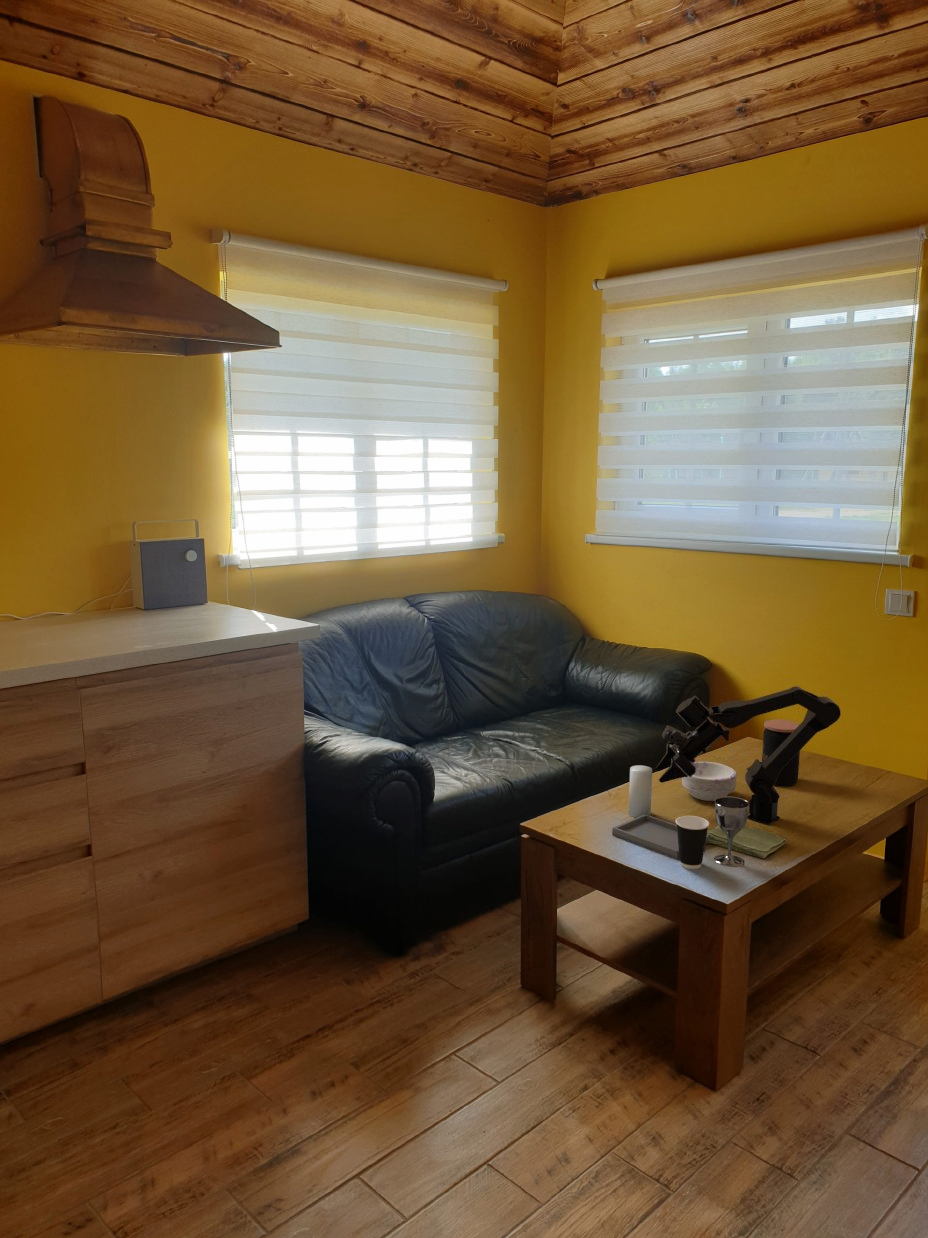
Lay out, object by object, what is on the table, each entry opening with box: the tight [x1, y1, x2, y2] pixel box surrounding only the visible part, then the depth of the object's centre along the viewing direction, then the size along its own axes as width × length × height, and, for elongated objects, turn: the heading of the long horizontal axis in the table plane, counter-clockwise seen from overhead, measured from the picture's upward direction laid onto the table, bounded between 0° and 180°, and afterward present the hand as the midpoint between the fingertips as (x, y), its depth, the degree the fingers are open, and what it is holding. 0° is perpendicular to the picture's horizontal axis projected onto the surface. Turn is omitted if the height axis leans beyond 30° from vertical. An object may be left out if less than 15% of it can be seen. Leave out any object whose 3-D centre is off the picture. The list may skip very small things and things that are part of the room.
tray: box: [611, 814, 710, 860], centre depth 238 cm, size 20×14×2 cm
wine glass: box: [713, 795, 750, 868], centre depth 225 cm, size 8×8×15 cm
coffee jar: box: [761, 719, 801, 788], centre depth 279 cm, size 11×11×18 cm
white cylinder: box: [628, 764, 653, 818], centre depth 254 cm, size 6×6×13 cm
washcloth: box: [707, 824, 787, 860], centre depth 236 cm, size 13×18×3 cm
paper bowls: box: [681, 761, 737, 802], centre depth 268 cm, size 15×15×8 cm
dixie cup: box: [675, 815, 710, 870], centre depth 223 cm, size 8×8×11 cm
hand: (658, 775), depth 253 cm, fingers open, 9 cm apart
